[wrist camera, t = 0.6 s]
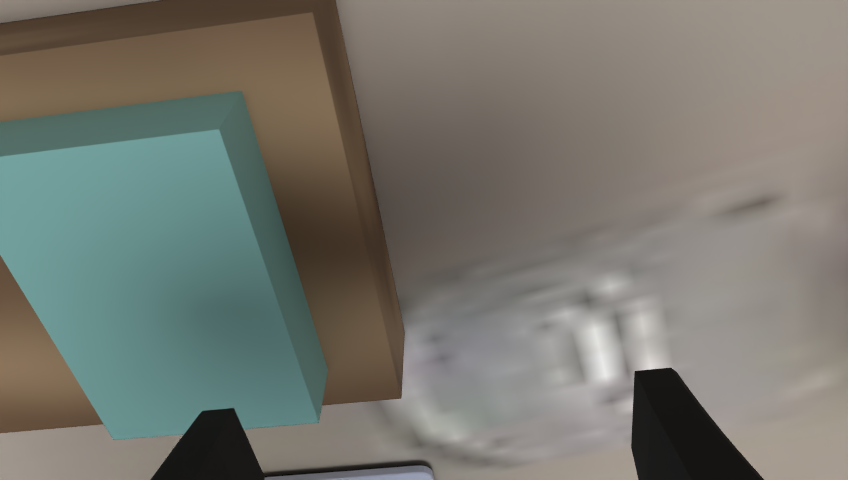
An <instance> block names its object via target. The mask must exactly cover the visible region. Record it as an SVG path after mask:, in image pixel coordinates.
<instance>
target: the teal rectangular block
mask: <svg viewBox="0 0 848 480" xmlns="http://www.w3.org/2000/svg"><path fill="white" fill-rule="evenodd" d="M0 255H1V257H2V259H3V260H4V262H5V264H6V265H7V267H8V268H9V270H10V272H11V273H12V275H13V277H14V278H15V280H16V282H17V283H18V285H19V286H20V288H21V290H22V291H23V293H24V295H25V296H26V298H27V300H28V301H29V303H30V304H31V306H32V308H33V309H34V311H35V313H36V314H37V316H38V317H39V319H40V321H41V322H42V324H43V326H44V327H45V329H46V331H47V332H48V334H49V335H50V337H51V339H52V340H53V342H54V344H55V345H56V347H57V349H58V350H59V352H60V353H61V355H62V357H63V358H64V360H65V362H66V363H67V365H68V367H69V368H70V370H71V371H72V373H73V375H74V376H75V378H76V380H77V381H78V383H79V384H80V386H81V388H82V389H83V391H84V393H85V394H86V396H87V398H88V399H89V401H90V402H91V404H92V406H93V407H94V409H95V411H96V412H97V414H98V416H99V417H100V419H101V420H102V422H103V424H104V425H105V427H106V429H107V430H108V432H109V433H110V435H111V437H112V438H113V440H120V439H132V438H144V437H156V436H168V435H180V434H185V432H186V431H187V430H188V428H189V427H190V426H191V424H192V423H193V422H194V420H195V419H196V418H197V416H198V415H199V414H200V413H201V412H202V411H205V410H216V409H227V408H234V409H235V412H236V414H237V416H238V418H239V421H240V423H241V425H242V427H243V429H251V428H263V427H274V426H286V425H298V424H310V423H319V419H320V413H321V408H322V402H323V396H324V391H325V385H326V379H327V373H328V368H327V365H326V362H325V359H324V355H323V352H322V349H321V346H320V342H319V339H318V336H317V333H316V330H315V326H314V323H313V320H312V317H311V313H310V310H309V307H308V304H307V300H306V297H305V294H304V291H303V287H302V284H301V281H300V278H299V274H298V271H297V268H296V265H295V261H294V258H293V255H292V252H291V248H290V245H289V242H288V239H287V235H286V232H285V229H284V226H283V223H282V219H281V216H280V213H279V210H278V206H277V203H276V200H275V197H274V193H273V190H272V187H271V184H270V180H269V177H268V174H267V171H266V167H265V164H264V161H263V158H262V154H261V151H260V148H259V145H258V141H257V138H256V135H255V132H254V129H253V125H252V122H251V119H250V116H249V112H248V109H247V106H246V103H245V99H244V96H243V93H242V91H235V92H227V93H219V94H212V95H204V96H196V97H188V98H181V99H173V100H165V101H158V102H150V103H142V104H135V105H127V106H119V107H111V108H104V109H96V110H88V111H81V112H73V113H65V114H58V115H50V116H42V117H34V118H27V119H19V120H11V121H4V122H0Z"/></svg>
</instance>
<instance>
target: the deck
mask: <svg viewBox="0 0 848 480" xmlns="http://www.w3.org/2000/svg"><path fill="white" fill-rule="evenodd" d="M235 91H242V93H243V96H244V99H245V103H246V106H247V109H248V112H249V116H250V119H251V122H252V125H253V129H254V132H255V135H256V138H257V141H258V145H259V148H260V151H261V154H262V158H263V161H264V164H265V167H266V171H267V174H268V177H269V180H270V184H271V187H272V190H273V193H274V197H275V200H276V203H277V206H278V210H279V213H280V216H281V219H282V223H283V226H284V229H285V232H286V235H287V239H288V242H289V245H290V248H291V252H292V255H293V258H294V261H295V265H296V268H297V271H298V274H299V278H300V281H301V284H302V287H303V291H304V294H305V297H306V300H307V304H308V307H309V310H310V313H311V317H312V320H313V323H314V326H315V330H316V333H317V336H318V339H319V342H320V346H321V349H322V352H323V355H324V359H325V362H326V365H327V368H328V373H327V379H326V385H325V391H324V396H323V402H322V405H331V404H343V403H354V402H366V401H377V400H389V399H400V398H401V395H402V375H403V356H404V336H405V332H404V327H403V322H402V317H401V313H400V308H399V303H398V298H397V293H396V289H395V284H394V279H393V274H392V269H391V265H390V260H389V255H388V250H387V245H386V241H385V236H384V231H383V226H382V222H381V217H380V212H379V207H378V202H377V198H376V193H375V188H374V183H373V178H372V174H371V169H370V164H369V159H368V154H367V150H366V145H365V140H364V135H363V131H362V126H361V121H360V116H359V111H358V107H357V102H356V97H355V92H354V87H353V83H352V78H351V73H350V68H349V63H348V59H347V54H346V49H345V44H344V40H343V35H342V30H341V25H340V20H339V16H338V11H337V6H336V1H335V0H162V1H155V2H148V3H141V4H134V5H127V6H120V7H113V8H106V9H99V10H92V11H85V12H78V13H71V14H64V15H57V16H50V17H43V18H36V19H29V20H22V21H15V22H8V23H1V24H0V122H4V121H11V120H19V119H27V118H34V117H42V116H50V115H58V114H65V113H73V112H81V111H88V110H96V109H104V108H111V107H119V106H127V105H135V104H142V103H150V102H158V101H165V100H173V99H181V98H188V97H196V96H204V95H212V94H219V93H227V92H235ZM100 424H103V422H102V420H101V419H100V417H99V416H98V414H97V412H96V411H95V409H94V407H93V406H92V404H91V402H90V401H89V399H88V398H87V396H86V394H85V393H84V391H83V389H82V388H81V386H80V384H79V383H78V381H77V380H76V378H75V376H74V375H73V373H72V371H71V370H70V368H69V367H68V365H67V363H66V362H65V360H64V358H63V357H62V355H61V353H60V352H59V350H58V349H57V347H56V345H55V344H54V342H53V340H52V339H51V337H50V335H49V334H48V332H47V331H46V329H45V327H44V326H43V324H42V322H41V321H40V319H39V317H38V316H37V314H36V313H35V311H34V309H33V308H32V306H31V304H30V303H29V301H28V300H27V298H26V296H25V295H24V293H23V291H22V290H21V288H20V286H19V285H18V283H17V282H16V280H15V278H14V277H13V275H12V273H11V272H10V270H9V268H8V267H7V265H6V264H5V262H4V260H3V259H2V257H1V255H0V433H8V432H19V431H31V430H43V429H54V428H66V427H77V426H89V425H100Z"/></svg>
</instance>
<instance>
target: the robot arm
mask: <svg viewBox="0 0 848 480" xmlns="http://www.w3.org/2000/svg"><path fill="white" fill-rule="evenodd" d="M631 448H632V453H633V457H634V461H635V466H636V470H637V475H638V479H639V480H764V479H763V478H762V477H761V476H760V475H759V473H758V472H757V471H756V470H755V469H754V468H753V467H752V466H751V464H750V463H749V462H748V461H747V460H746V459H745V458H744V456H743V455H742V454H741V453H740V452H739V451H738V450H737V449H736V447H735V446H734V445H733V444H732V443H731V442H730V440H729V439H728V438H727V437H726V436H725V434H724V433H723V432H722V431H721V429H720V428H719V427H718V426H717V425H716V423H715V422H714V421H713V420H712V418H711V417H710V416H709V415H708V413H707V412H706V411H705V410H704V408H703V407H702V406H701V404H700V403H699V402H698V400H697V399H696V398H695V397H694V395H693V394H692V393H691V391H690V390H689V388H688V387H687V386H686V384H685V383H684V382H683V380H682V379H681V377H680V376H679V375H678V373H677V372H676V371H675V370H673V369H672V368H664V369H653V370H642V371H635V377H634V400H633V422H632V444H631ZM151 480H434V476H433V472H432V470H431V469H430V468H428V467H426V466H421V465H418V466H405V467H392V468H379V469H366V470H353V471H340V472H328V473H315V474H302V475H289V476H276V477H264V475H263V472H262V470H261V468H260V466H259V463H258V461H257V459H256V457H255V454H254V452H253V450H252V448H251V445H250V443H249V441H248V439H247V436H246V434H245V432H244V430H243V427H242V425H241V423H240V421H239V418H238V416H237V414H236V412H235V409H234V408H227V409H216V410H205V411H202V412H201V413H200V414H199V415H198V416H197V418H196V419H195V420H194V422H193V423H192V424H191V426H190V427H189V428H188V430H187V431H186V432H185V434H184V435H183V437H182V438H181V439H180V441H179V442H178V443H177V445H176V446H175V447H174V449H173V450H172V452H171V453H170V454H169V456H168V457H167V458H166V460H165V461H164V462H163V464H162V465H161V466H160V468H159V469H158V470H157V472H156V473H155V475H154V476H153V477H152V479H151Z"/></svg>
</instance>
